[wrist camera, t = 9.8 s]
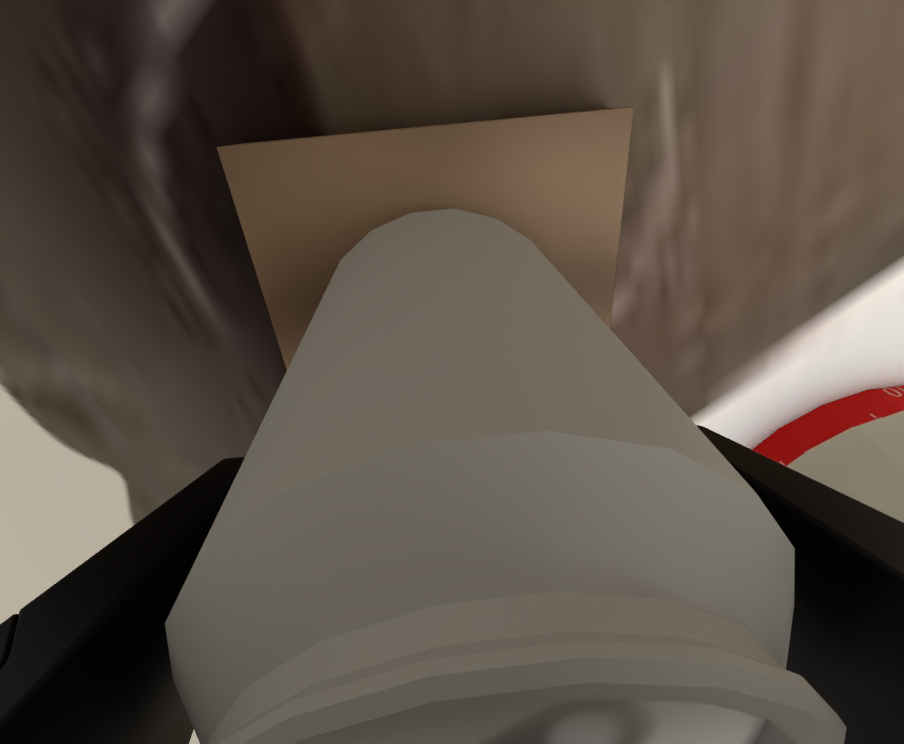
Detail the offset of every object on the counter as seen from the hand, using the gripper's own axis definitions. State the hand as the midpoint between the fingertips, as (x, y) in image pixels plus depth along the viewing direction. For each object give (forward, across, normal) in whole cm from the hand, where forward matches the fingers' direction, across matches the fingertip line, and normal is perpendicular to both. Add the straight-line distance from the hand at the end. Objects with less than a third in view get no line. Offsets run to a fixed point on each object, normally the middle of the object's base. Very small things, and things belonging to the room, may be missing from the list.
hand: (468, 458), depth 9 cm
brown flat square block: (+9, 0, 0) cm, 9 cm away
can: (+7, 0, 0) cm, 7 cm away
